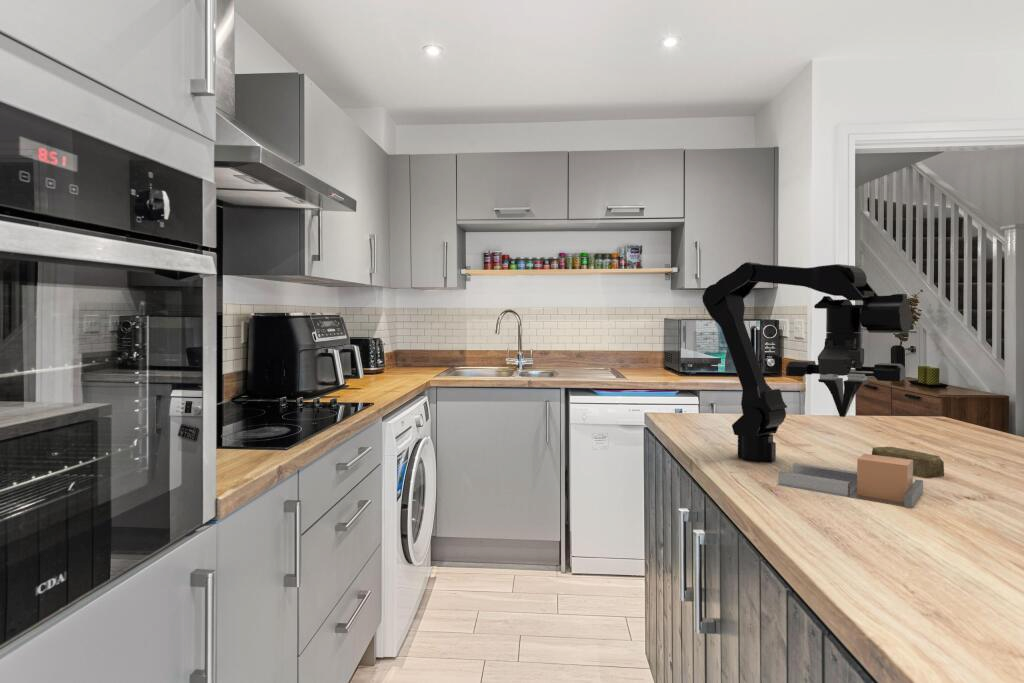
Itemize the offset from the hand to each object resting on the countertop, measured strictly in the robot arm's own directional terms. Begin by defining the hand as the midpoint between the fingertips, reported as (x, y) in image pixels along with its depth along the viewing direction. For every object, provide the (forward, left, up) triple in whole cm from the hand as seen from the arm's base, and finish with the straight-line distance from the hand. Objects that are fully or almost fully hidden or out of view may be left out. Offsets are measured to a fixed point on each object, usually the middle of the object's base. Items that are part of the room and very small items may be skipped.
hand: (842, 416), depth 111 cm
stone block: (+8, +12, -12) cm, 19 cm away
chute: (+3, -9, -12) cm, 15 cm away
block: (+8, -9, -11) cm, 17 cm away
